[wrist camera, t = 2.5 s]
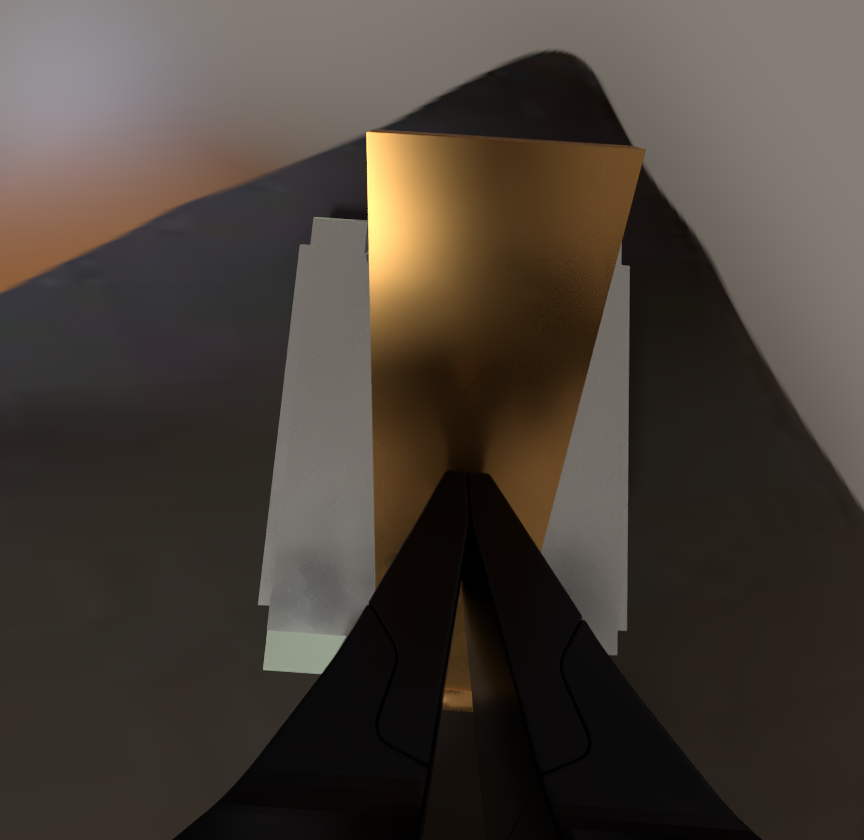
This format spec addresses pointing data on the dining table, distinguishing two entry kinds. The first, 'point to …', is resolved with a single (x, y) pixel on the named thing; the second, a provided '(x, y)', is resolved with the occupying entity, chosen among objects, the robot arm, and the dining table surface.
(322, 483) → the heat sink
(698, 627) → the dining table surface
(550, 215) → the strap
